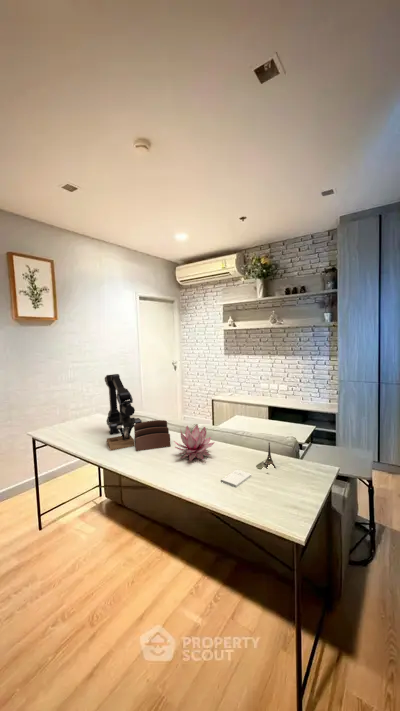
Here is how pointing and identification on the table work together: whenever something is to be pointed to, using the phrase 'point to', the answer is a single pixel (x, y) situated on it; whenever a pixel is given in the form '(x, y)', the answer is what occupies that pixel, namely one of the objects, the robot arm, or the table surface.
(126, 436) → the pin
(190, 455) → the decorative flower
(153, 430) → the letter holder
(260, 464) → the eiffel tower figurine
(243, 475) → the external hard drive
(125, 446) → the block
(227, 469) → the table surface
